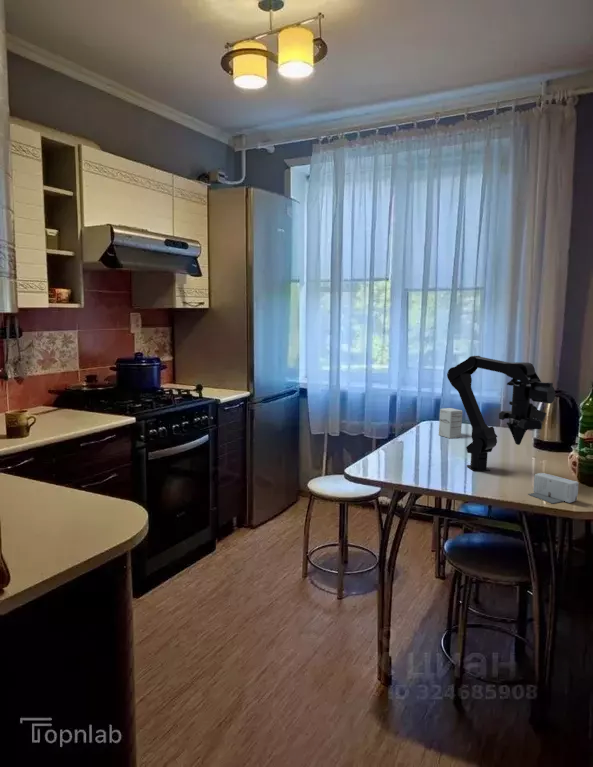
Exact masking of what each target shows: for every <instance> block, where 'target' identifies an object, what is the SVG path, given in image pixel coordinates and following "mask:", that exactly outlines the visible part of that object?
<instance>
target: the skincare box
mask: <svg viewBox="0 0 593 767" xmlns="http://www.w3.org/2000/svg"><path fill="white" fill-rule="evenodd" d="M532 490H533V493H538V494H541V495H545V496H548V497H552V498H555V499H558V500H562V501H565V503H568V504H569V503H573V502H576V501H578V494H579V482H578V481H576V480H573V479H572V480H571V479H567V478H564V477H561V476H557V475H553V474H549V473H544V472H540V473H539V472H538V473H535V474H534V479H533V489H532Z"/></svg>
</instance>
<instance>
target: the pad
mask: <svg viewBox="0 0 593 767" xmlns="http://www.w3.org/2000/svg"><path fill="white" fill-rule="evenodd" d="M528 495H529V496H531V497H533V498H536V499H538V498H539V499H538V500H541V499H542V501H543V502H546V501H547V503H549V504H553V505H554V504H558V503H559V504H560V503H564V501H562V500H558V499H555V498H552V497H548V496H545V495H541V494H538V493H535V492H532V493H531V492H530V493H527V496H528Z"/></svg>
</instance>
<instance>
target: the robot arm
mask: <svg viewBox="0 0 593 767" xmlns="http://www.w3.org/2000/svg"><path fill="white" fill-rule="evenodd" d="M477 369H482V370H488V371H491V372H496V373H501V374H504V375H505V376H507V377H508V378H511V379H510V380H509V381H508V382H507V383H506V386H512V393H511V394H512V395H511V396H512V397H511V400H509V405H510V406H511V410H501V411H500V412H499V413H498V420H499V419H500V420H501V421H504V420H506V419H507V420H508V422H506V425H507V426H508V428H509V431H510V433H511V435H512V438H513V440H514V443H515V445H517V446H520V445H521V443H522V440H523V439H524V437H525V434H526V432H527V431H528V430H542V429H543V422H544V421H545V417H546V415H547V412H545V411H542V410H540V409H538V407H537V406H535V405H534V403H531V402H537V403H542V404H543V403H545V404H552V403H553V402H554V401H555V399H556V398H555V397H556V391H555V387H554V385H553V384H554V383H553V382H550V381H549V382H543V381H542V380H541V379H540V378H539V375H538V374H537V372H536V369H535V366H534V365H533V364H532V363H531V362H522V361H521V362H518V361H517V362H515V361H514V362H511V361H510V362H509V361H505V360H498V359H493V358H488V357H485V356H480V355H471V356H469V357H468V358H467V359H465V360H464V361H462V362H460V363H458V364H456V365H455V366H452V367H450V368H449V369H448V371H447V372H446V378H447V379H448V381H449V383H450V384H451V386H452V387H453V388H454V390H456V391H457V392H458V395H459V397H460V400H461V402H462V405H463V408H464V410H465V412H466V416H467V418H468V420H469V424H470V425H471V441H472V442H470V443H469V444H468V445H467V446H466V447H465V448H466V453H468V454H470V464H467V465H466V467H467V468H468V469H469V470H472V471H473V472H488V471H489V472H490V471H491V469H490V468H489V467H487V466H488V453H491V452H492V451H493V448H495V447H496V445H497V443H498V439H497V438H498V437H499V436H498V435H497V434H496V431H495V428H494V426H488V425H487V423H486V421H485V419H484V417H483V415H482V414H483V413H482V412H481V409H480V406H479V404H478V402H477V399H476V396H475V394H474V391H473V389H472V381H473V380H472V374H474V373H475V372H476V371H477Z"/></svg>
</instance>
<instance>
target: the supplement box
mask: <svg viewBox="0 0 593 767" xmlns="http://www.w3.org/2000/svg"><path fill="white" fill-rule="evenodd" d="M462 423H463V410H462V409H457V408H453V407H448V408H447V407H444V408H440V409H439V424H438V436H442V437H444V438H448V439H456V438H455V437H458V438H462V425H463V424H462Z"/></svg>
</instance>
